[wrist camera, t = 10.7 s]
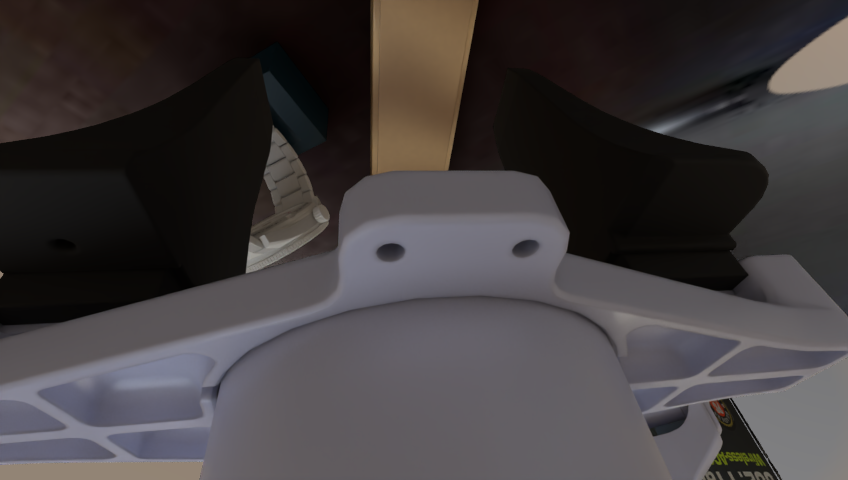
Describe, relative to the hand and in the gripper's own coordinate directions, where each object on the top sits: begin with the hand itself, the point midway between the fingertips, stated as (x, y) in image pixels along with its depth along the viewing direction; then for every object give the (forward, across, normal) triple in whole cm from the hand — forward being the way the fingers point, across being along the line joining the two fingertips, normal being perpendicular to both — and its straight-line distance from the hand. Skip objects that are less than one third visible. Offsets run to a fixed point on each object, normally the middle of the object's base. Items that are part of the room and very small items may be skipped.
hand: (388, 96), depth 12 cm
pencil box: (+10, -2, +4) cm, 11 cm away
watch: (+10, +6, +6) cm, 14 cm away
